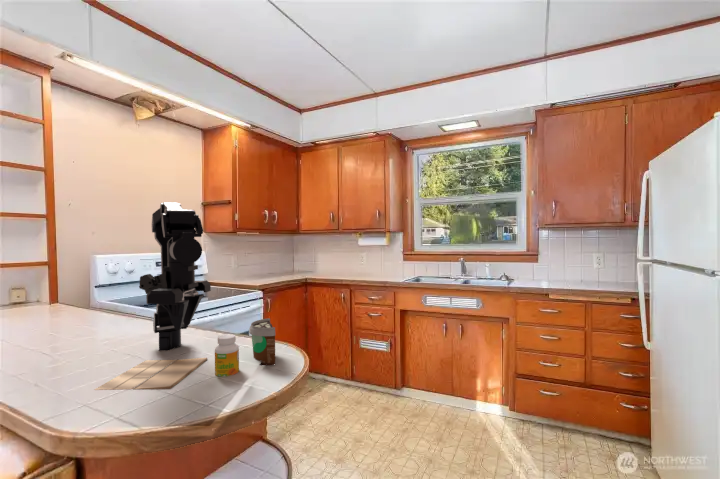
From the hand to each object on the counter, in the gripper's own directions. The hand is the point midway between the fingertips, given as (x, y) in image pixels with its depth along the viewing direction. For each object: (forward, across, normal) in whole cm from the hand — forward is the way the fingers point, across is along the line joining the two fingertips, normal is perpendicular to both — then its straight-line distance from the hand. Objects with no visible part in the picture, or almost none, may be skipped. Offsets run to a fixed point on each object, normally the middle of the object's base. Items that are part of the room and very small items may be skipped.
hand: (182, 327), depth 84 cm
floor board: (+12, 0, -10) cm, 16 cm away
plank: (+12, 0, -2) cm, 12 cm away
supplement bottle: (+12, 0, +10) cm, 16 cm away
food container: (+12, -11, +16) cm, 23 cm away
